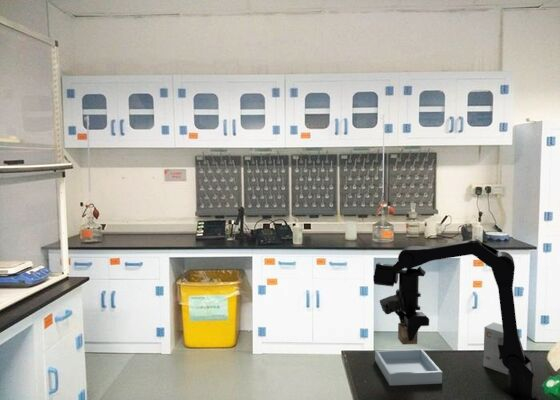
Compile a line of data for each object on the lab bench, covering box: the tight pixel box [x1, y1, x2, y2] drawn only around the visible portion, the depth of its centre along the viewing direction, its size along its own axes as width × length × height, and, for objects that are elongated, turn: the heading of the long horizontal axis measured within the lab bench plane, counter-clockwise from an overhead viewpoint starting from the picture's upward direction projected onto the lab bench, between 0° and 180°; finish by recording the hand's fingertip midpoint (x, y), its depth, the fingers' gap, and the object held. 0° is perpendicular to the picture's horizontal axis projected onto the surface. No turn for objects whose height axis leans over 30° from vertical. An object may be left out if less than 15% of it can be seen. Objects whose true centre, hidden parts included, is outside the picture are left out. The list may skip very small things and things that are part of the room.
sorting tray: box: [374, 348, 443, 386], centre depth 137 cm, size 16×16×4 cm
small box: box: [482, 322, 520, 376], centre depth 138 cm, size 8×6×13 cm
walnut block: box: [397, 322, 419, 345], centre depth 136 cm, size 4×4×5 cm
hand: (407, 337), depth 136 cm, fingers closed on walnut block, 4 cm apart
